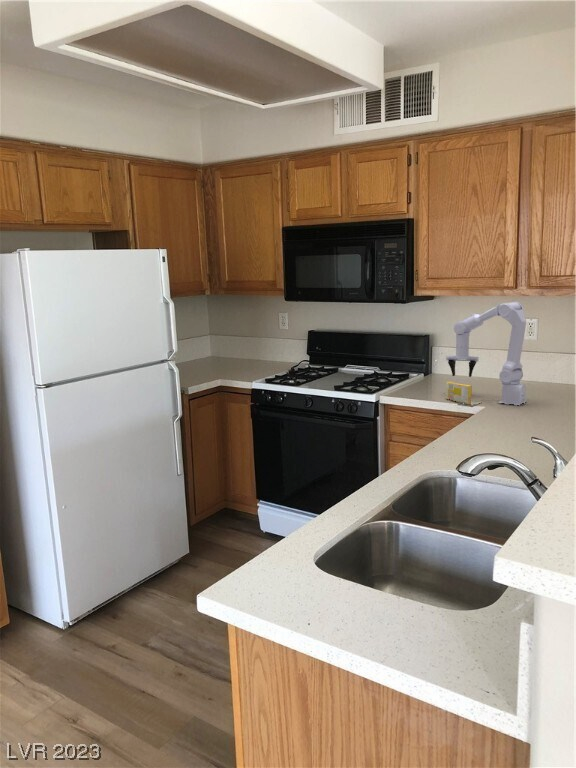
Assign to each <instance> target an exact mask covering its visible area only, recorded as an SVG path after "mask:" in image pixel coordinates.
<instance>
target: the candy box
mask: <svg viewBox="0 0 576 768" xmlns="http://www.w3.org/2000/svg"><path fill="white" fill-rule="evenodd" d="M445 384H446V386H445V387H446V390H445V391H446V393H445V394H446V395H445V396H446V397H445V399H446V398H447V399H450V400H449V401H451V400H453V401H452V402H455V401H456V403H459V404H460V403H464V404H468V405H469V404H471V401H472V393H473V391H472V390H473V388H472V385H468V384H462V383H458V382H453V381H446V383H445ZM447 399H446V400H447Z"/></svg>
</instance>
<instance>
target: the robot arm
mask: <svg viewBox="0 0 576 768" xmlns="http://www.w3.org/2000/svg"><path fill="white" fill-rule="evenodd" d="M524 310H525V308H524V307H523V306H522V304H521V303H520V302H518V301H512V302H503V303H501V304H497V305H495V306H494V307H492V308H489V309H488V310H486V311H485V312H483V313H481V314H478V313H472V314H471V315H470V316H469V317H467V318H463V321H457V322H456V323H455V324H454V325H453V331H454V333H455V339H456V340H455V355H447V356H445V357H446V358H445V360H446V361H447V364H448V366H449V367H450V371H451V375H452V377H455V376H456V362H457V361H460V362H468V369H469V371H468V377H469V378H470V377H472V374H473V371H474V368H475V365H476V364H477V362H479V356H470V355H469V354H470V351H469V350H470V349H469V348H470V334H471V332H472V331H473V330H475V329H477V328H479V327H481V326H483V324H484V322H485V321H488V320H490V319H492V318H494V317H499V316H500V317H501V318H502V319H505V320H506V321H507V322H508V323H509V324H510V325H511V329H510V330H511V331H510V337H509V343H508V349H507V357H506V361H505V362H504V364H503V365H502V369H501V371H500V372H499V380H500V382H501V400H500V401H498V402H497V403H498V404H500V403H506V404H505V405H509V404H514V405H513V406H517V405H519V406H521V405H520V404H522V403H524V404H526V403H525V402H526V395H527V394H526V391H527V389H526V385H525V384H522V383H521V380H522V379H523V377H524V372H523V365H522V363H521V356H522V351H523V350H522V349H523V344H524V338H525V334H526V333H525V332H526V327H527V320H526V316H525V314H524ZM522 405H523V404H522Z"/></svg>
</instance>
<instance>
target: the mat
mask: <svg viewBox="0 0 576 768" xmlns="http://www.w3.org/2000/svg"><path fill="white" fill-rule="evenodd" d="M457 406H463V407H471V408H473V407H476V406H478V405H477V404H473V405H471V404H469V405H468V404H463V403H460V402H459V403H457Z"/></svg>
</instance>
